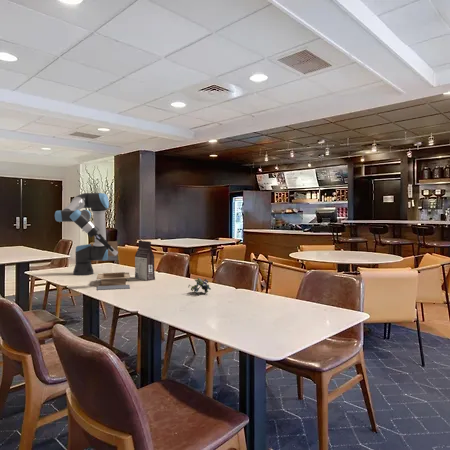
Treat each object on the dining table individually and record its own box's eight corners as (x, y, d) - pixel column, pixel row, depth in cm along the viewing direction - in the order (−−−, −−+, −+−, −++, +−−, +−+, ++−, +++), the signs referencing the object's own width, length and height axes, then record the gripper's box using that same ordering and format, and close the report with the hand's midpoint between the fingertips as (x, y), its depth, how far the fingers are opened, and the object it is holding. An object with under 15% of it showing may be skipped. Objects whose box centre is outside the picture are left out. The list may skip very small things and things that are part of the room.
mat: (97, 286, 243) (97, 286, 243) (129, 285, 249) (129, 284, 249) (97, 290, 232) (97, 289, 232) (130, 288, 238) (130, 287, 238)
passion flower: (205, 301, 227) (215, 287, 223) (192, 301, 219) (202, 286, 215) (196, 288, 234) (206, 274, 230) (183, 288, 226) (193, 273, 222)
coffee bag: (156, 279, 272) (156, 241, 271) (146, 281, 266) (145, 242, 265) (143, 276, 284) (143, 240, 283) (133, 278, 277) (133, 240, 276)
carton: (98, 280, 268) (98, 273, 268) (128, 278, 274) (128, 272, 274) (96, 286, 243) (96, 279, 243) (130, 285, 250) (130, 277, 249)
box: (108, 259, 249) (108, 241, 249) (117, 259, 251) (117, 241, 251) (107, 260, 244) (107, 242, 243) (117, 260, 245) (117, 242, 245)
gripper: (87, 233, 252) (112, 256, 256) (85, 234, 233) (112, 259, 238) (95, 225, 253) (120, 248, 258) (94, 225, 235) (121, 251, 240)
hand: (116, 253), depth 248 cm, fingers closed on box, 6 cm apart
